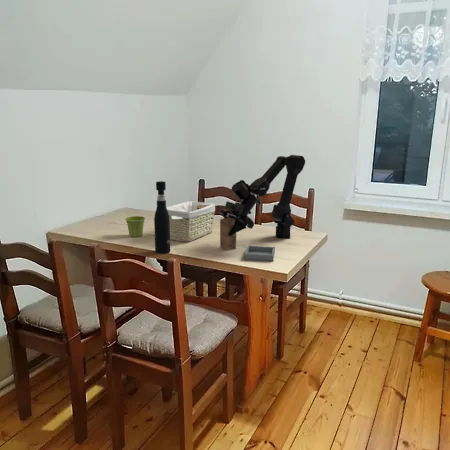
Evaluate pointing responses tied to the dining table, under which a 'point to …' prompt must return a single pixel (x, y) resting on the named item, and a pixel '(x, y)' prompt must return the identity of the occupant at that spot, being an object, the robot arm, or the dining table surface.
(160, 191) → the black bottle
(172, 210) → the storage basket
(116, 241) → the dining table surface
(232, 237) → the walnut block
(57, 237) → the dining table surface
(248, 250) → the tray
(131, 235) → the plant pot
